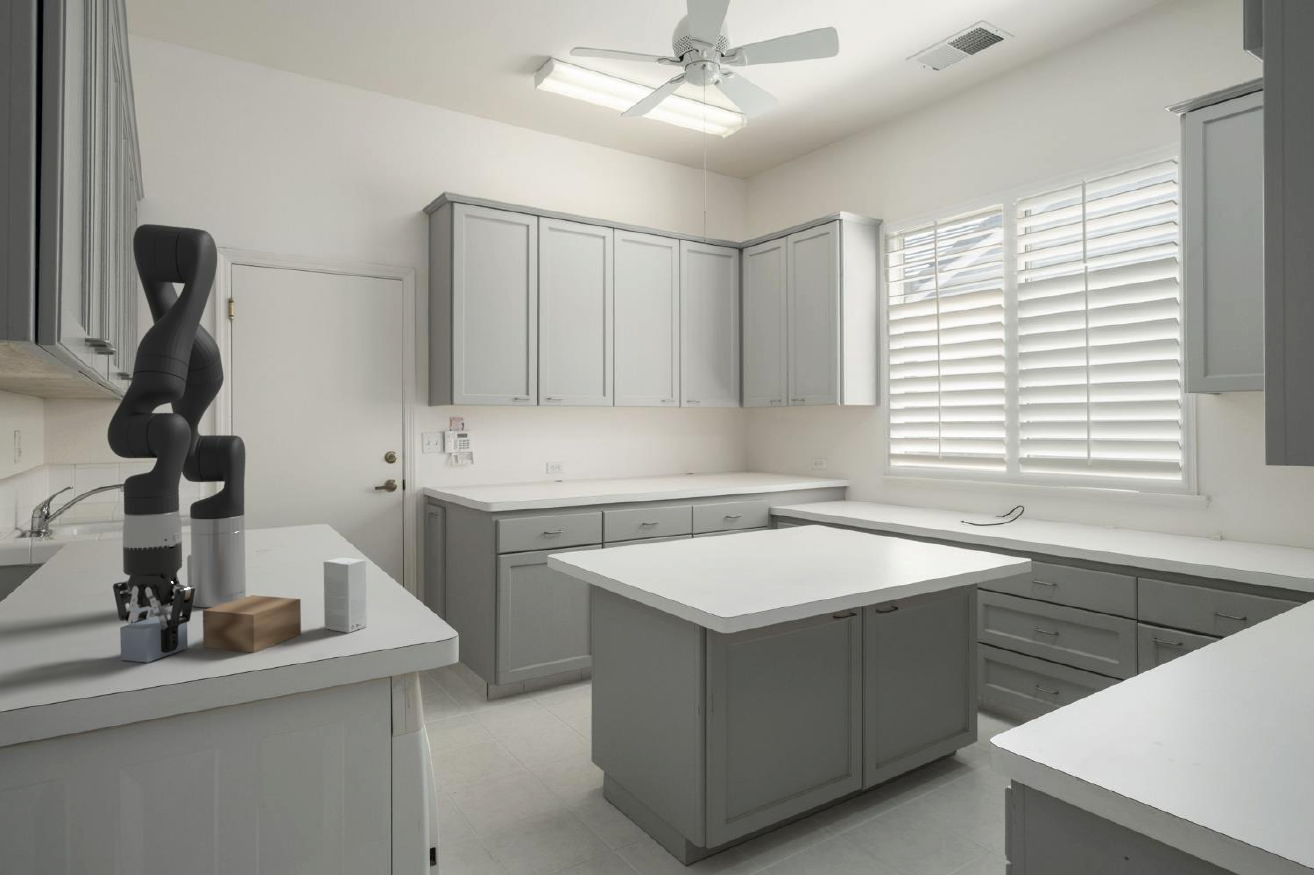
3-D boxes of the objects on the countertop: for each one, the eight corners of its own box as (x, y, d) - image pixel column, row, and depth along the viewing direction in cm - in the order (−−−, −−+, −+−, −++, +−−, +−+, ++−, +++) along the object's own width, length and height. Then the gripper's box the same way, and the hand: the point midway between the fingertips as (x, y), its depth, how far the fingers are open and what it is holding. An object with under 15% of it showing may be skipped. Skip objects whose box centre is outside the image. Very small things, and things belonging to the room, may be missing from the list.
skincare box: (367, 627, 128) (367, 559, 128) (348, 633, 124) (347, 564, 124) (343, 622, 131) (342, 556, 130) (323, 629, 127) (322, 561, 126)
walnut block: (203, 647, 117) (202, 610, 117) (253, 629, 126) (252, 595, 126) (254, 652, 114) (253, 614, 114) (300, 633, 124) (300, 599, 124)
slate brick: (121, 659, 110) (120, 627, 110) (162, 645, 117) (161, 614, 117) (147, 662, 109) (146, 629, 109) (187, 647, 116) (187, 616, 116)
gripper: (93, 543, 111) (95, 653, 111) (166, 548, 107) (169, 661, 108) (139, 535, 118) (142, 638, 119) (210, 539, 114) (212, 646, 115)
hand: (155, 649), depth 113 cm, fingers closed on slate brick, 5 cm apart
